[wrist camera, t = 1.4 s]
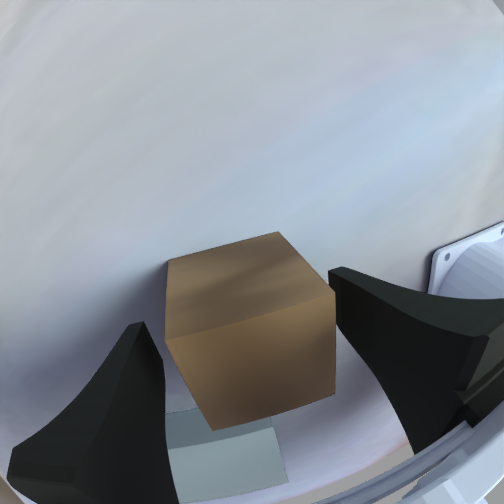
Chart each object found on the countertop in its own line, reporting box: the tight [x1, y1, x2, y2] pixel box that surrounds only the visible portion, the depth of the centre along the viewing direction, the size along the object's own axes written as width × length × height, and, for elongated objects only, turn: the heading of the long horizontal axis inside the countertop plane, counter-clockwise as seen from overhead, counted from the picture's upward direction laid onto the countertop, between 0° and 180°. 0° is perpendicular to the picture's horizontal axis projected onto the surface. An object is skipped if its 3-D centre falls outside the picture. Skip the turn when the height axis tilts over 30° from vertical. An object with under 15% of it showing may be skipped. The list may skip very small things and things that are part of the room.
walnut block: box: [165, 232, 336, 431], centre depth 10 cm, size 4×4×5 cm
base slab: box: [165, 408, 289, 504], centre depth 16 cm, size 10×10×3 cm
